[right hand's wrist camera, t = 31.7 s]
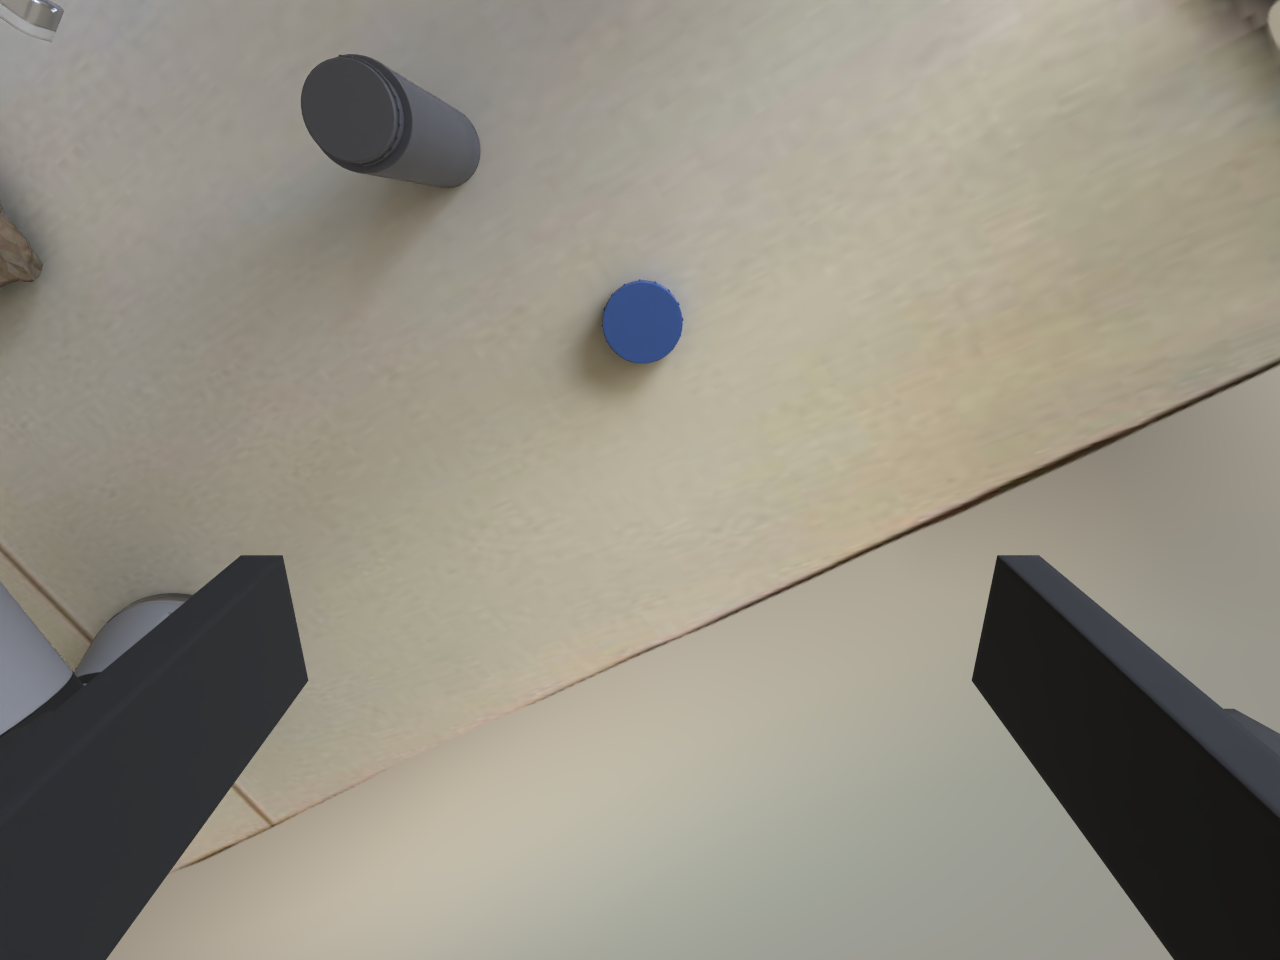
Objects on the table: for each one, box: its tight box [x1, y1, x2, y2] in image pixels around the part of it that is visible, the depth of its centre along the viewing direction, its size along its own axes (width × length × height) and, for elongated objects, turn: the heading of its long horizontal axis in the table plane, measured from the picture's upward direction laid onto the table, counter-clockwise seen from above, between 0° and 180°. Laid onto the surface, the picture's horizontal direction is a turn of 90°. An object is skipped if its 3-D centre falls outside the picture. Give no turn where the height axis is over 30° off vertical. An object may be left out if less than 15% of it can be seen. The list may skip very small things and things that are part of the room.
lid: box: [602, 280, 683, 363], centre depth 50 cm, size 6×6×2 cm
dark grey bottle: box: [301, 54, 480, 188], centre depth 39 cm, size 5×5×16 cm
